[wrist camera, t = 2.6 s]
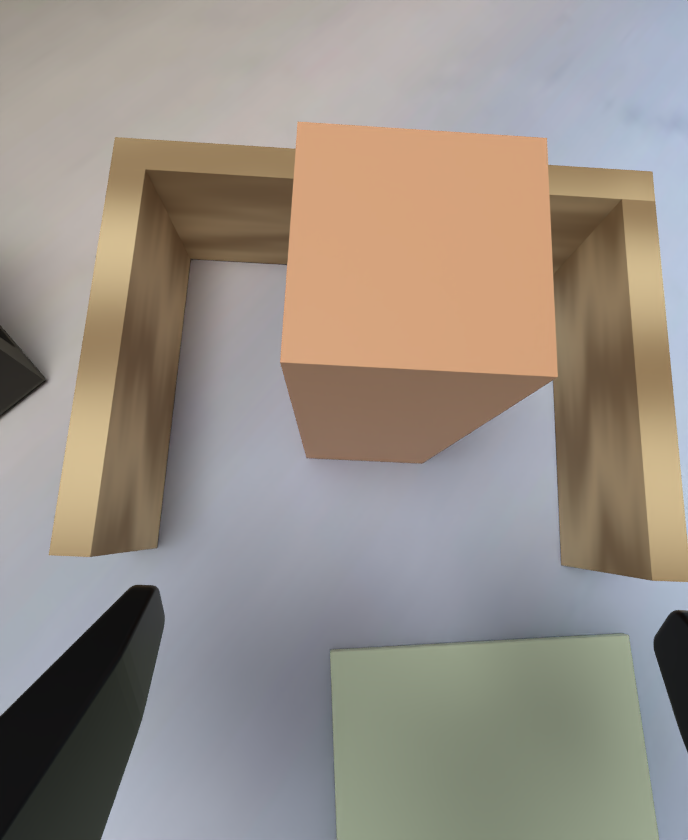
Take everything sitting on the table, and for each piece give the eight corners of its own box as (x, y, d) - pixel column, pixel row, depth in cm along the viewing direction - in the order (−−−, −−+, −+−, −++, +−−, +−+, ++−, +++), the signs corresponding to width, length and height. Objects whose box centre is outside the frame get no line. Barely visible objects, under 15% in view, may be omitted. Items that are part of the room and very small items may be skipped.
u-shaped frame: (589, 566, 21) (691, 581, 15) (127, 546, 21) (48, 554, 15) (572, 257, 24) (652, 171, 18) (167, 233, 24) (115, 137, 18)
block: (422, 463, 22) (558, 376, 9) (306, 457, 22) (280, 362, 9) (423, 353, 23) (546, 138, 10) (313, 347, 23) (297, 121, 10)
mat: (343, 1016, 18) (343, 1027, 17) (329, 649, 20) (330, 652, 20) (674, 986, 18) (682, 996, 18) (623, 633, 21) (628, 635, 20)
